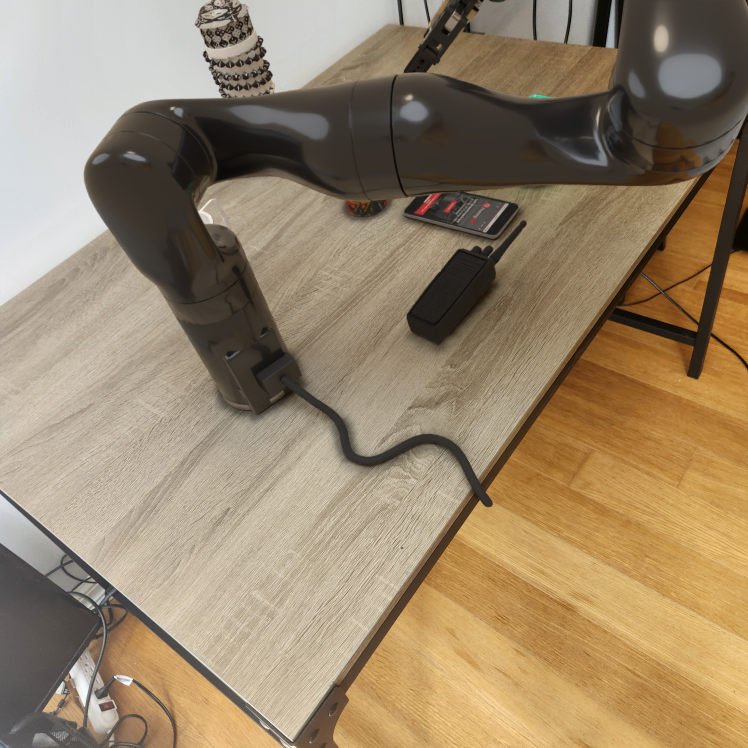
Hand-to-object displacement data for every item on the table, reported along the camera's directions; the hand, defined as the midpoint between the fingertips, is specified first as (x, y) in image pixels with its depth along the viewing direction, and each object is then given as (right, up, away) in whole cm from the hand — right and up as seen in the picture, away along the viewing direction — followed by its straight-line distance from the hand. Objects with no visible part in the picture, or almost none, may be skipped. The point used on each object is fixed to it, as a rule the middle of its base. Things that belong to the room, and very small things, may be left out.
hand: (420, 59), depth 77 cm
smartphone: (+7, -15, +13) cm, 21 cm away
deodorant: (-6, -13, +19) cm, 24 cm away
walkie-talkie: (+7, -27, +3) cm, 28 cm away
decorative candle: (-23, -1, +33) cm, 40 cm away
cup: (-28, -24, +15) cm, 40 cm away
